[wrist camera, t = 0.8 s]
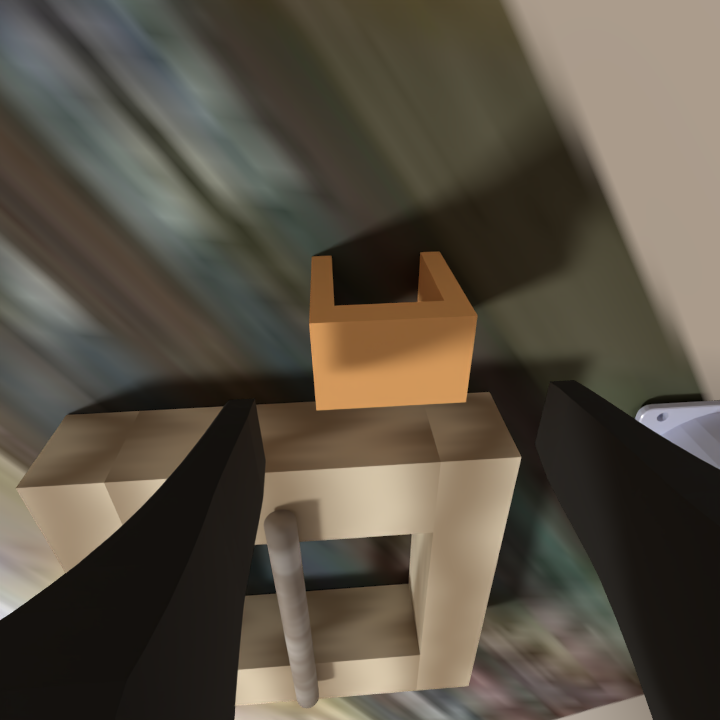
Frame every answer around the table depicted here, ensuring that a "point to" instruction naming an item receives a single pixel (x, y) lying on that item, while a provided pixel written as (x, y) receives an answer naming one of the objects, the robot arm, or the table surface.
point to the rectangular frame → (318, 531)
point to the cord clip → (391, 343)
